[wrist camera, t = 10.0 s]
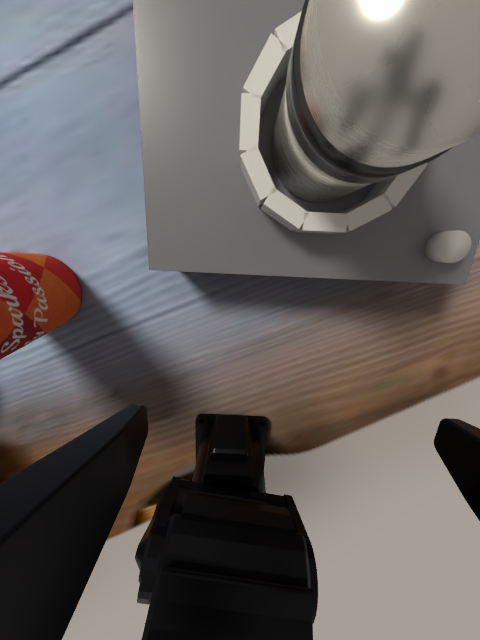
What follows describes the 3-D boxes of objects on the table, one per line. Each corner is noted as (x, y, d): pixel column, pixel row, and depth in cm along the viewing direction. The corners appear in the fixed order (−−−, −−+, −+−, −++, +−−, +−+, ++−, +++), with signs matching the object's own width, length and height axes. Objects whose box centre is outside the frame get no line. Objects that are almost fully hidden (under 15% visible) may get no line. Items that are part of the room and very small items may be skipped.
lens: (368, 207, 13) (542, 158, 6) (265, 202, 13) (297, 148, 6) (390, 79, 12) (676, -233, 4) (273, 74, 12) (334, -252, 4)
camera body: (409, 274, 19) (499, 291, 12) (172, 262, 19) (134, 274, 12) (462, 58, 15) (632, -85, 9) (165, 43, 15) (104, -112, 9)
